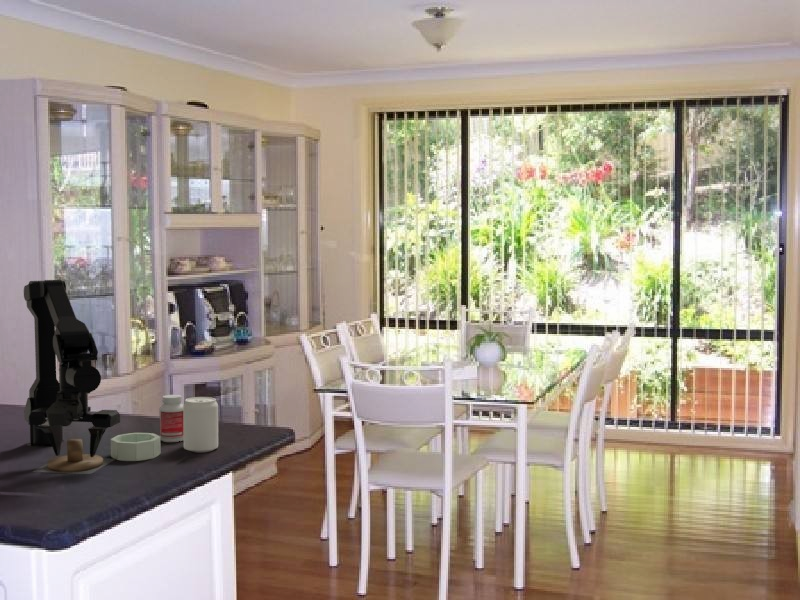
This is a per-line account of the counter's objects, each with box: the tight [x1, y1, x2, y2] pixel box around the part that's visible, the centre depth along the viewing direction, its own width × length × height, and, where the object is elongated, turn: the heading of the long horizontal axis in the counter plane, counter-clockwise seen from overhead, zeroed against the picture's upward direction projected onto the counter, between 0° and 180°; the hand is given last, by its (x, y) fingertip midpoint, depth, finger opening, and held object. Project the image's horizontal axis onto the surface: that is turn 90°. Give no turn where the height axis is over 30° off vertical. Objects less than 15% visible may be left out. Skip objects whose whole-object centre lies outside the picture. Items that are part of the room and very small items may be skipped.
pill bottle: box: [159, 394, 184, 443], centre depth 232 cm, size 6×6×11 cm
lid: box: [46, 438, 103, 472], centre depth 205 cm, size 12×12×6 cm
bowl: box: [110, 432, 161, 462], centre depth 214 cm, size 10×10×5 cm
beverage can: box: [183, 396, 219, 453], centre depth 222 cm, size 8×8×12 cm
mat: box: [31, 457, 116, 475], centre depth 205 cm, size 13×13×1 cm
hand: (75, 456), depth 205 cm, fingers open, 8 cm apart
